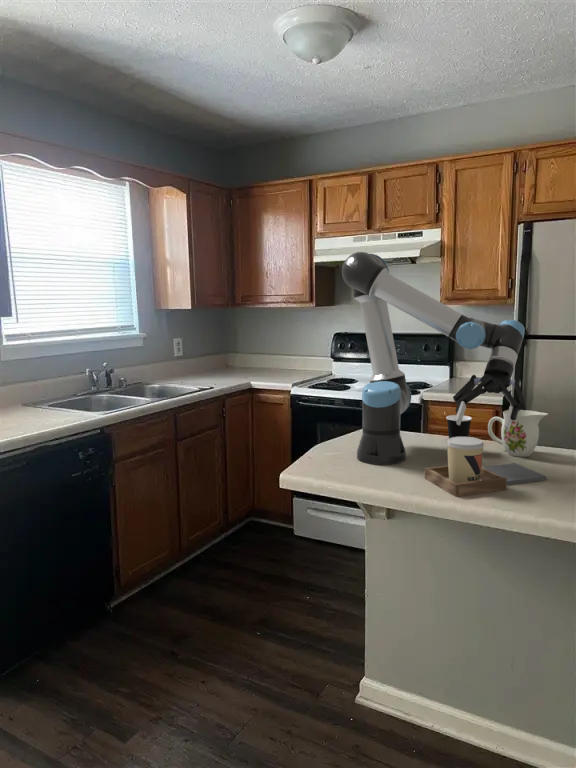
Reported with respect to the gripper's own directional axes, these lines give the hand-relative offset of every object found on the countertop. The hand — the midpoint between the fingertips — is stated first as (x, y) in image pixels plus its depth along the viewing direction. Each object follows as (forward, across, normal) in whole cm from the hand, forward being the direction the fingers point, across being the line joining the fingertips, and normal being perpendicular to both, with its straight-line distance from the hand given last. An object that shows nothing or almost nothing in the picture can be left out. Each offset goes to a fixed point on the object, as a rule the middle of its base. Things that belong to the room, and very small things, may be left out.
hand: (481, 425), depth 154 cm
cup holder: (+17, +1, -3) cm, 17 cm away
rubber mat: (+7, -7, -13) cm, 16 cm away
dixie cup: (-4, +14, -25) cm, 29 cm away
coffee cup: (+17, +1, -3) cm, 17 cm away
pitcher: (-9, -2, -30) cm, 31 cm away
